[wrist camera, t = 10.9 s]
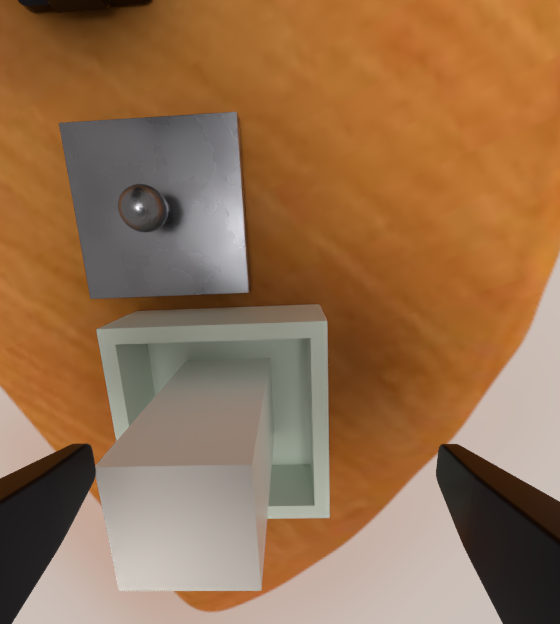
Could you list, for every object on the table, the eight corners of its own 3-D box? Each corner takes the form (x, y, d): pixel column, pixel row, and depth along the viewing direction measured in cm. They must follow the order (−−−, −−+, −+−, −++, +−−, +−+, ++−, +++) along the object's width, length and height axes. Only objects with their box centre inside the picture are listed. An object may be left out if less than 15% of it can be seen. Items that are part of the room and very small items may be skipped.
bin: (136, 311, 19) (96, 329, 15) (319, 304, 18) (327, 321, 15) (159, 468, 21) (130, 520, 17) (322, 466, 21) (329, 518, 17)
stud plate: (72, 129, 17) (10, 98, 13) (239, 119, 16) (224, 84, 13) (100, 295, 19) (54, 309, 15) (250, 289, 18) (240, 302, 15)
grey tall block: (194, 435, 20) (119, 591, 11) (186, 360, 19) (94, 467, 10) (274, 433, 20) (261, 590, 11) (269, 358, 18) (251, 464, 10)
